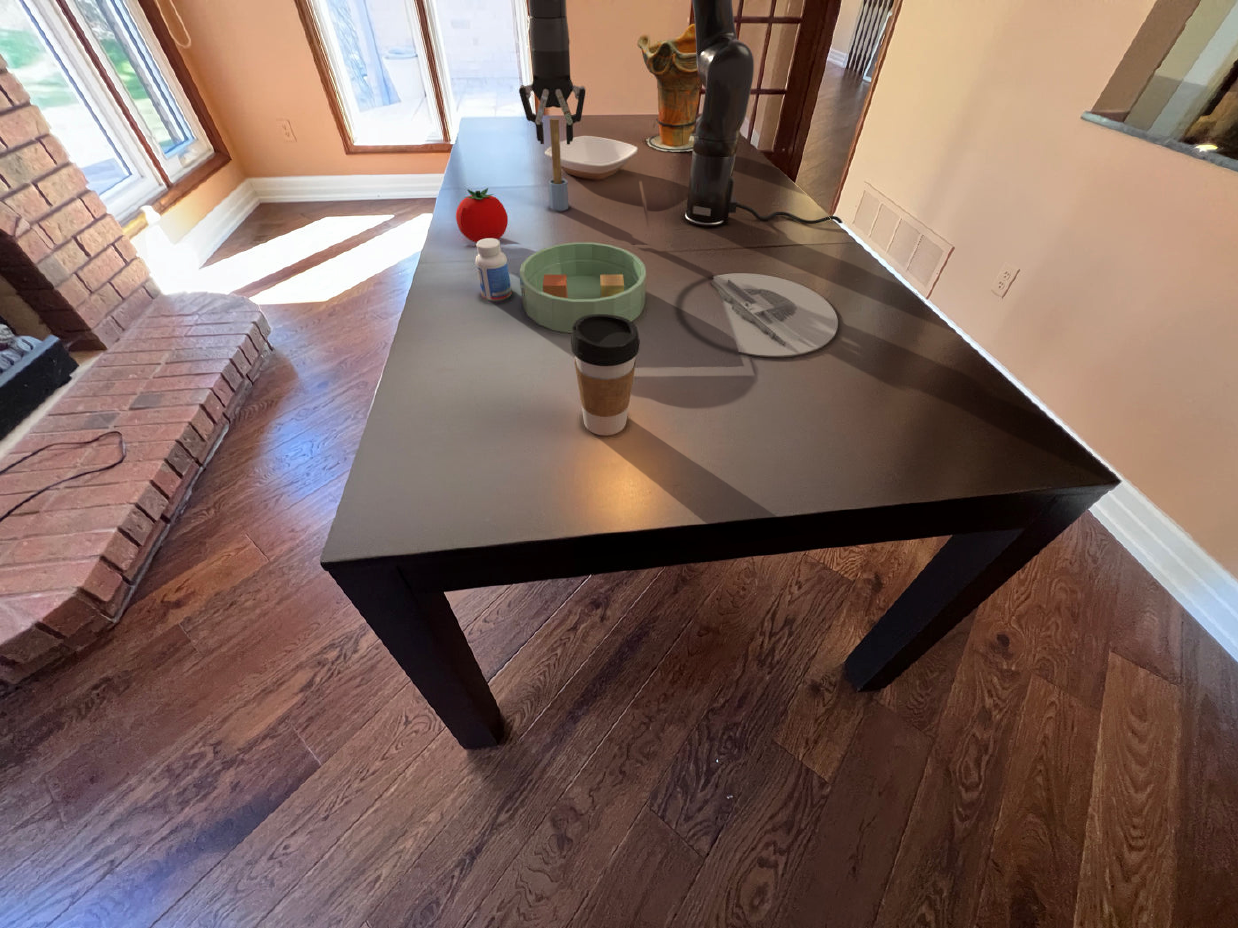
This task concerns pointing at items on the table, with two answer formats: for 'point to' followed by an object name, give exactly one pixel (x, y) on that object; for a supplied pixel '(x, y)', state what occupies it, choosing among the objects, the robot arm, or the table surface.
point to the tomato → (481, 216)
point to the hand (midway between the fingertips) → (555, 143)
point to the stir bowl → (581, 283)
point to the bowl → (593, 156)
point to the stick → (556, 150)
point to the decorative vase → (674, 88)
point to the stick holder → (558, 195)
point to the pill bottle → (492, 270)
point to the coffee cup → (604, 369)
